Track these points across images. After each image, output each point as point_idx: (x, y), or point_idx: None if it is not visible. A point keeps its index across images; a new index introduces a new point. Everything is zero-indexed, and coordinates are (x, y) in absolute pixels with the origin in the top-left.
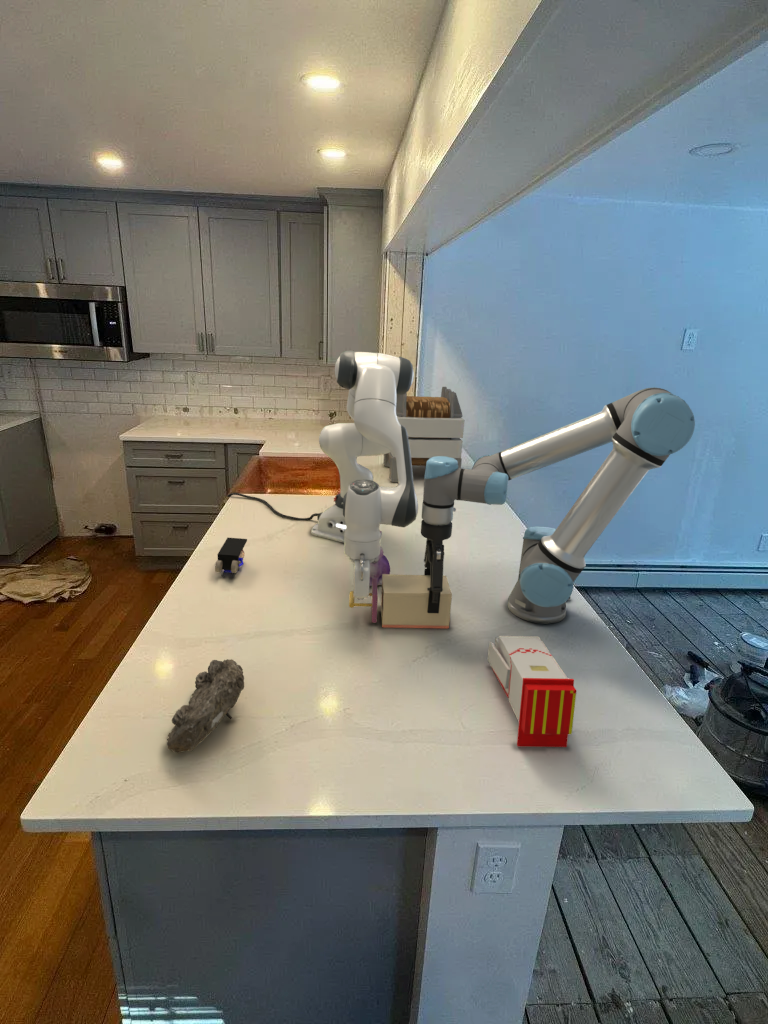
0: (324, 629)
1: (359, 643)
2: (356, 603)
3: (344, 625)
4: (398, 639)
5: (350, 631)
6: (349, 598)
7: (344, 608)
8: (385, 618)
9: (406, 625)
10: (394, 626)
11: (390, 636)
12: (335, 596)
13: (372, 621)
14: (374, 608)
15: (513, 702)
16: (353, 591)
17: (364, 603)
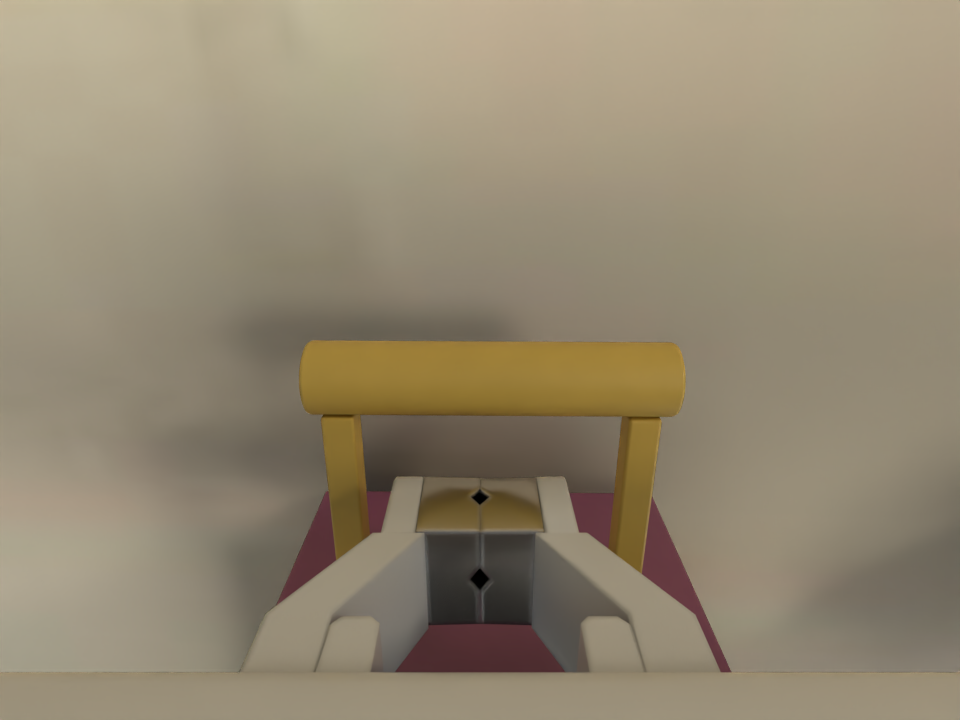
0: (195, 9)
1: (35, 373)
2: (344, 443)
3: (311, 234)
4: (174, 633)
5: (212, 294)
6: (490, 350)
7: (655, 226)
8: None
9: None
10: None
11: (202, 590)
12: (954, 109)
13: (321, 502)
14: None
15: None
16: (674, 410)
17: (353, 534)
